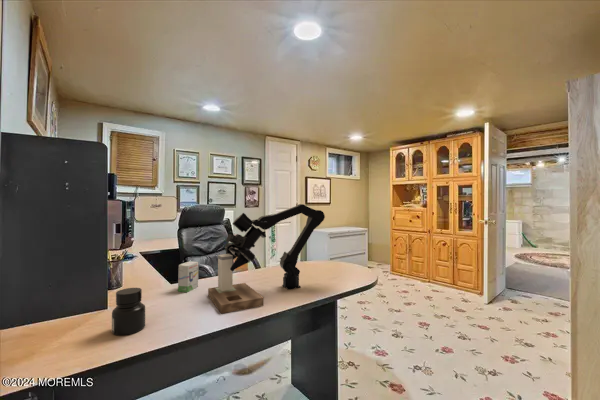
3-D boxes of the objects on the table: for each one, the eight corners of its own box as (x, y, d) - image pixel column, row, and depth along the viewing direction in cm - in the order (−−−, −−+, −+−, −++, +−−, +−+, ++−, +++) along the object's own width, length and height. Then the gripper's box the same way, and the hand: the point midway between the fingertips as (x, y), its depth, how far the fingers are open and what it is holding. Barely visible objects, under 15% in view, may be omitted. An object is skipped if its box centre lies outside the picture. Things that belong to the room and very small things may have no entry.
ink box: (188, 286, 132) (188, 260, 132) (198, 286, 131) (198, 261, 131) (177, 291, 124) (177, 264, 124) (187, 292, 123) (188, 265, 123)
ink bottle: (126, 322, 93) (126, 285, 93) (152, 323, 92) (152, 286, 92) (103, 336, 83) (103, 295, 83) (131, 337, 82) (131, 296, 82)
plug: (228, 286, 121) (228, 253, 121) (232, 289, 117) (232, 255, 117) (217, 288, 118) (217, 254, 118) (221, 291, 115) (221, 256, 115)
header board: (244, 289, 127) (244, 282, 127) (263, 305, 108) (263, 297, 108) (208, 295, 119) (208, 287, 119) (221, 313, 100) (221, 304, 100)
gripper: (228, 225, 128) (204, 252, 122) (248, 228, 114) (221, 259, 107) (244, 241, 133) (222, 268, 126) (265, 246, 118) (241, 277, 112)
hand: (226, 267), depth 118 cm, fingers open, 9 cm apart
